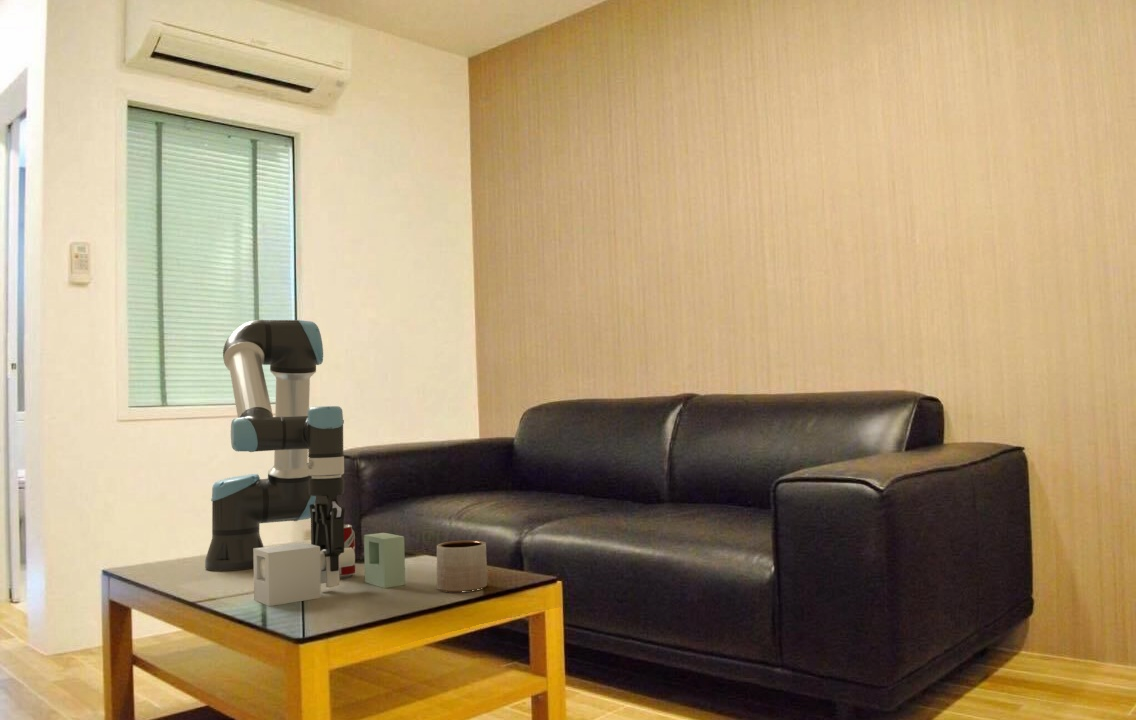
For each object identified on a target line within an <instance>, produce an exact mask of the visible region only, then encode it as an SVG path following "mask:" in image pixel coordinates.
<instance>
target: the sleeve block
mask: <svg viewBox="0 0 1136 720" xmlns="http://www.w3.org/2000/svg"><path fill="white" fill-rule="evenodd" d="M263 558H265V578H263V577H262V576H261V572H260V562H261V560H262V559H263ZM253 560H254V568H253V600H254V601H256V602H258V603H261V604H263V605H266V606H267V607H270V606H272V607H273V606H278V605H287V604H291V603H298V602H302V601H303V602H304V601H310V600H316V599H321V597H322V595H321V594H322V591H321V589H322V587H321V585H322V584H321V576H320V546H316V545H312V544H311V543H307V542H296V543H289V544H280V545H272V546H271V545H270V546H264V547H262V548H253Z"/></svg>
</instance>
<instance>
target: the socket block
mask: <svg viewBox="0 0 1136 720" xmlns="http://www.w3.org/2000/svg"><path fill="white" fill-rule="evenodd" d="M363 548H364V549H363V551H364V557H363V558H364V583H366V584H370V585H373V586H376V587H379V588H380V587H381V588H383V589H388V588H393V587H401V586H404V585H406V568H405V567H406V565H405V559H406V558H405V554H406V553H405V536H403V535H398V534H392V533H387V532H380V533H379V532H378V533H377V532H376V533H369V534H363Z"/></svg>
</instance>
